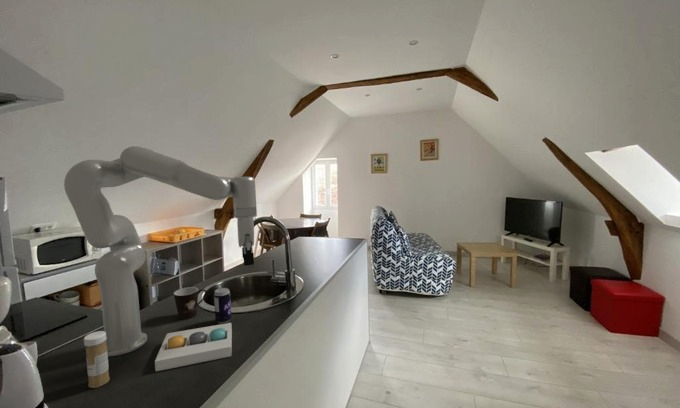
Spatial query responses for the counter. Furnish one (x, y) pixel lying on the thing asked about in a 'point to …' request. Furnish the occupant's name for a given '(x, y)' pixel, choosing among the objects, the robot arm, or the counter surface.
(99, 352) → the sprinkles bottle
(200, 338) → the charcoal button
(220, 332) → the teal button
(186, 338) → the panel
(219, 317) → the beverage can
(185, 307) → the coffee mug
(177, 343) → the orange button
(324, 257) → the counter surface
